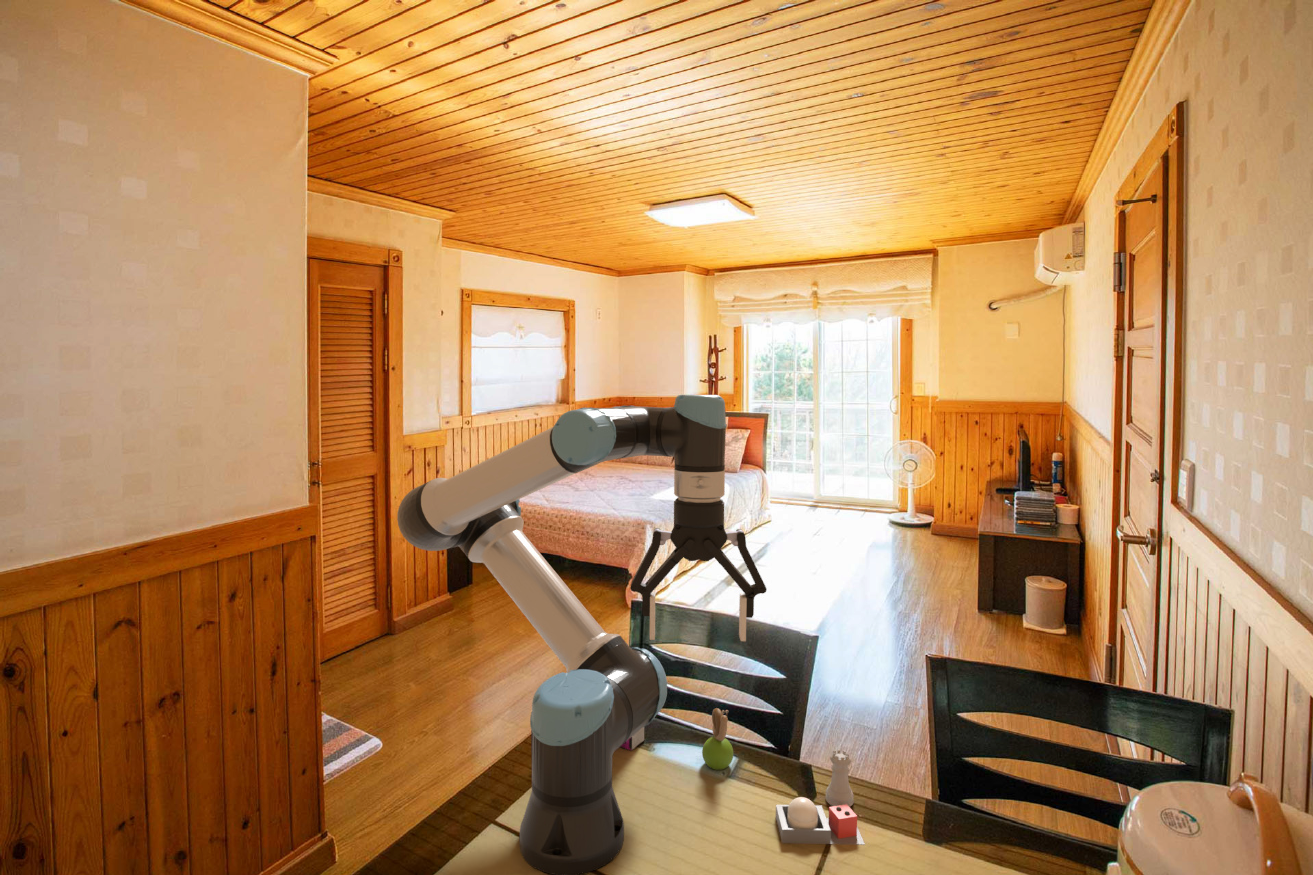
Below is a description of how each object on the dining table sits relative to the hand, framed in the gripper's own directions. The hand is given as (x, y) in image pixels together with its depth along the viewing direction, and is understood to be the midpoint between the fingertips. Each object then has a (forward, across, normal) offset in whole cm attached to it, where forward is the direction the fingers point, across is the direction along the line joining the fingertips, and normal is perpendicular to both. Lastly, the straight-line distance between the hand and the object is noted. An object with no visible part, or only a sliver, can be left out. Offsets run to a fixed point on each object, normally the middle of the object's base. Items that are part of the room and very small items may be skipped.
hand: (697, 637), depth 104 cm
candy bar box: (+29, -14, +24) cm, 40 cm away
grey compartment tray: (+29, +18, -3) cm, 34 cm away
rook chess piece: (+28, +23, +5) cm, 37 cm away
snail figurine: (+29, +5, +14) cm, 33 cm away
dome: (+28, +16, -3) cm, 32 cm away
